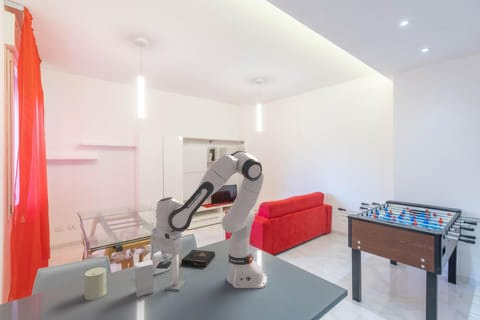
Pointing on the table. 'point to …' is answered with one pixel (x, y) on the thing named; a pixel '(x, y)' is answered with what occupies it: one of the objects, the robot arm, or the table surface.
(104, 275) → the can
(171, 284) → the post
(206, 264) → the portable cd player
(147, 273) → the skincare box
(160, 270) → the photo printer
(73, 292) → the table surface
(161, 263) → the swing arm
